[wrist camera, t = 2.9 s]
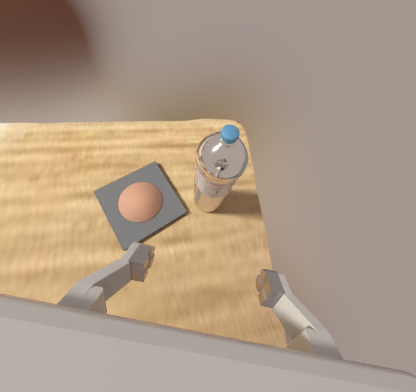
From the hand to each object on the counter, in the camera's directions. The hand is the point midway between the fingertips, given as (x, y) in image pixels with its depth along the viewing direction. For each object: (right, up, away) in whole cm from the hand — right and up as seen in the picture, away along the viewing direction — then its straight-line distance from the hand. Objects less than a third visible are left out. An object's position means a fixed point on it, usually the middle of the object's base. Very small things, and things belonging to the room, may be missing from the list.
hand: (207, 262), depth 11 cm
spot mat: (-16, +3, +26) cm, 30 cm away
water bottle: (0, +4, +28) cm, 28 cm away
